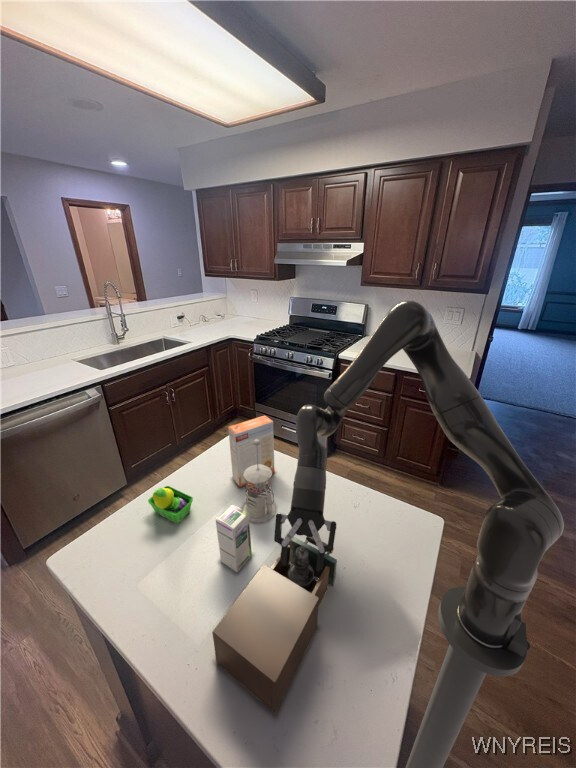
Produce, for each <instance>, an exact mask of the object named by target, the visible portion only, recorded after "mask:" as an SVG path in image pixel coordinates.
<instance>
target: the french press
mask: <svg viewBox="0 0 576 768" xmlns="http://www.w3.org/2000/svg"><path fill="white" fill-rule="evenodd" d="M254 445H260V440H257V439H256V440H254ZM272 476H273V473H272V471H271V469H270V468H269V467H267V466H265V465H261V464H258V446H257V465H253V466H250V467H248V468H247V469H246V470H245V472H244V477H245V479H246V480H247V481H248V482H247V483H246V485H245V488H244V494H245V505H244V506H243V509H242V510H244V511H245V512H247V513H249V522H252V523H254V524H255V523H264V522H267V521H269V520H270V519H272V518H273V517H274V515H275V513H276V506H275V504H274V503H275V493H274V491H273V489H272V484H271V481H270V478H272Z"/></svg>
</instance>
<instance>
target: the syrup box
mask: <svg viewBox="0 0 576 768" xmlns="http://www.w3.org/2000/svg"><path fill="white" fill-rule="evenodd" d="M250 525H251V524H250V521H249V513H247V512H245V511H244V510H243V509H242V508H240V507H238V506H236V505H234V504H231V505H229V506H228V507H227V509H225V510H224V511H223V512H222V513H221V514H220V515H219V516H217V517H216V518H215V527H216V534H217V541H218V550H219V558H220V562H221V563H222V564H224V565H226V566H227V567H228V568H230V569H231V570H233V571H234V572H236V573H238V572H240V570H241V569H242V567H244V566H245V564H246V563H247V562H248V560H249V559H250V558H251V557H252V556H253V554H252V553H253V551H252V540H251V539H252V538H251V526H250Z"/></svg>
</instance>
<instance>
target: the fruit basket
mask: <svg viewBox="0 0 576 768" xmlns="http://www.w3.org/2000/svg"><path fill="white" fill-rule="evenodd" d="M193 501H194V497H193V496H191V495H189V494H186V493H185V492H182V491H180V490H178V489H176V488H174V487H173V486H171V485H170V486H169V485H166V486H164V487H161V488H157V489H155V490H154V492H153V493H152V496H150V497H149V498H148V500H147V503H148V504H149V505H150V506H151V507H152V509H153V510H154V512H155V513H156V514H157V515H160V516H162V517H163V518H166V519H167V520H168V521H172V522H173V523H175V524H179V523H180V521H182V520H183V519H184V518H185V517H186V516H187V515H188V514H190V512H191V508H192V503H193Z"/></svg>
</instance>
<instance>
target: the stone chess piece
mask: <svg viewBox="0 0 576 768" xmlns="http://www.w3.org/2000/svg"><path fill="white" fill-rule="evenodd" d="M293 563H294V564H292V563H291V564H290V565H291V566H290V568H289V570H288V577H289V579H290V580H291V581H292V582H294V583H296V584H297V585H299V586H301V587H302V588H304V589H305V590H307V591H309V592H310V591H311V588H312V581H313V579H315V576H314V571H313V569H312V567H311V566H310V565H309V564H310V560H309V558H308V550H307V548H305V547H303V546H301V547H298V548H297V549H296V552H295V558H294V560H293Z"/></svg>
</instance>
